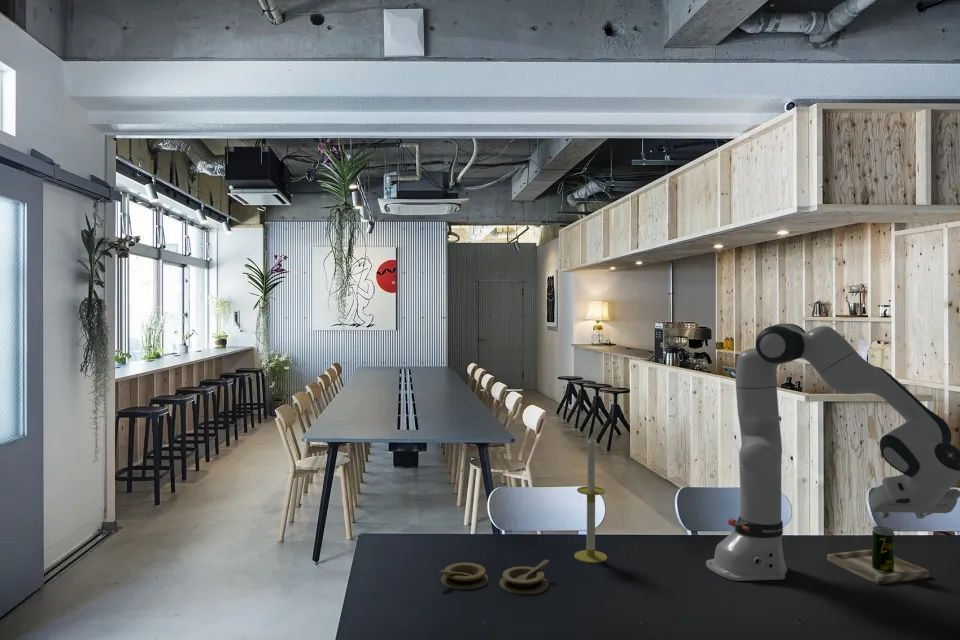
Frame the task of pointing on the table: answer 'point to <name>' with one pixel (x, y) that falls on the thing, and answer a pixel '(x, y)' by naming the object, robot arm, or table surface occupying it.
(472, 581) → the tableware set
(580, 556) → the candle
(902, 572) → the birch tray
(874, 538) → the beer can
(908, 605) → the table surface
